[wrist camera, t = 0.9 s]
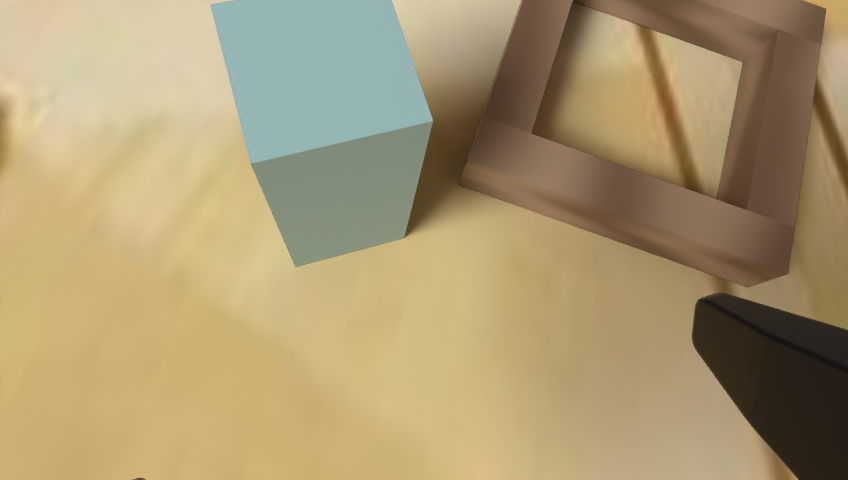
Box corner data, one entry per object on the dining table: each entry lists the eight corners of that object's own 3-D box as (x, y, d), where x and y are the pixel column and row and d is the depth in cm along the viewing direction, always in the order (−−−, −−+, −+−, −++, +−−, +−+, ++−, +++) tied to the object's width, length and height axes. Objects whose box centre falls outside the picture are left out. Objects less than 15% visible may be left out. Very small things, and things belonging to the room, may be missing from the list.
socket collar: (788, 42, 29) (826, 8, 27) (747, 287, 25) (788, 273, 23) (538, -47, 29) (553, -89, 27) (457, 184, 25) (468, 160, 23)
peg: (404, 237, 24) (432, 121, 15) (295, 266, 23) (251, 163, 14) (374, 140, 25) (382, -27, 16) (269, 165, 24) (210, 4, 15)
